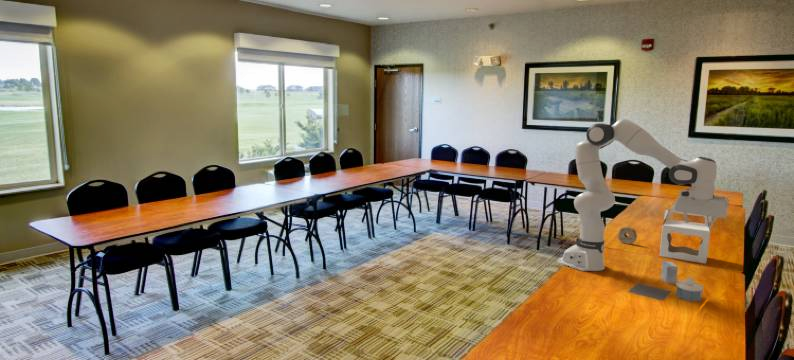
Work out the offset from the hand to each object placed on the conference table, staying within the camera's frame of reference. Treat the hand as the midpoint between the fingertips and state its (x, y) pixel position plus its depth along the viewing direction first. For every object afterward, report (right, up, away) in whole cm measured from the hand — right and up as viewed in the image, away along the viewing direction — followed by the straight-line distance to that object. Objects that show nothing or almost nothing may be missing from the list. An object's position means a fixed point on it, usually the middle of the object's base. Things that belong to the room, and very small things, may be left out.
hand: (698, 224), depth 227 cm
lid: (-11, -26, -11) cm, 30 cm away
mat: (-24, -30, -5) cm, 39 cm away
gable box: (+20, -22, +47) cm, 56 cm away
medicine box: (-9, -28, +9) cm, 30 cm away
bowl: (-11, -31, -11) cm, 34 cm away
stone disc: (0, -18, +72) cm, 74 cm away
